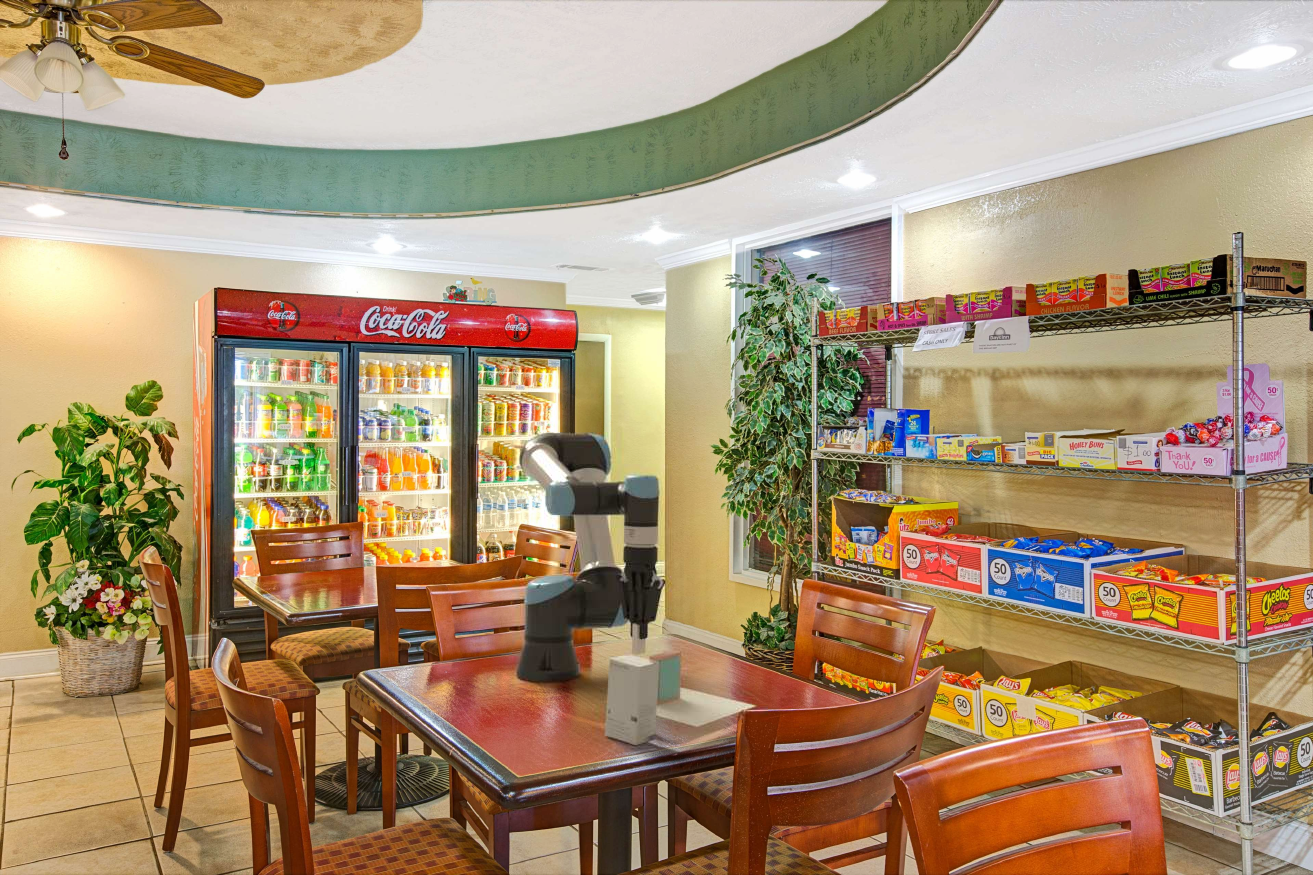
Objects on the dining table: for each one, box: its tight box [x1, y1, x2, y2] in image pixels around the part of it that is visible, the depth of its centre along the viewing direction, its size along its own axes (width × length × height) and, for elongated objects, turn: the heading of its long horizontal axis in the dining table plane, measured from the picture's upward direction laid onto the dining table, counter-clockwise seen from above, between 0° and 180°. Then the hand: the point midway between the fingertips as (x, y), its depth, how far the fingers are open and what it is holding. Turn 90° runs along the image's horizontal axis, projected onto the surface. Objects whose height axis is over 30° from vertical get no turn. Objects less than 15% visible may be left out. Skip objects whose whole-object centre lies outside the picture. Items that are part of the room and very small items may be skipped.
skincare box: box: [604, 654, 659, 746], centre depth 169 cm, size 8×6×15 cm
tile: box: [649, 649, 682, 705], centre depth 190 cm, size 2×8×10 cm, turn 139°
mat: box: [656, 686, 756, 728], centre depth 188 cm, size 24×20×1 cm
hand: (638, 652), depth 195 cm, fingers closed
